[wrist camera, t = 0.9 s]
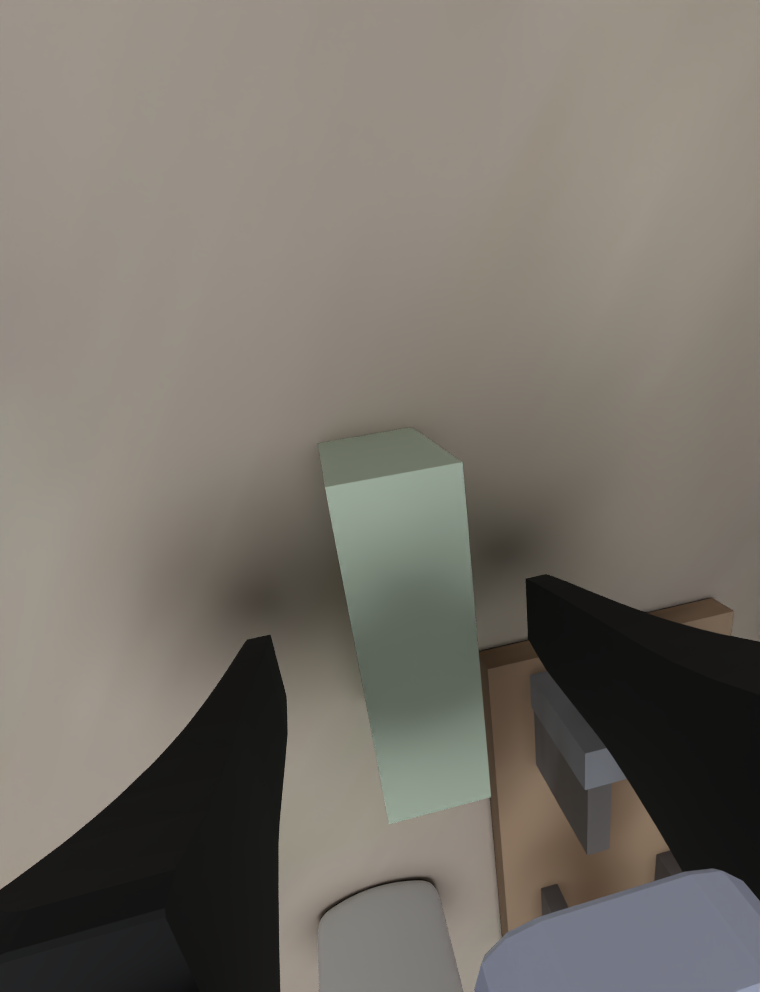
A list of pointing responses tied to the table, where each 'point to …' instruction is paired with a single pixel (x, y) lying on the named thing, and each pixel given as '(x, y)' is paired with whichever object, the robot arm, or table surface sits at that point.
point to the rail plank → (411, 614)
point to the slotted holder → (564, 788)
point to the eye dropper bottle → (387, 942)
